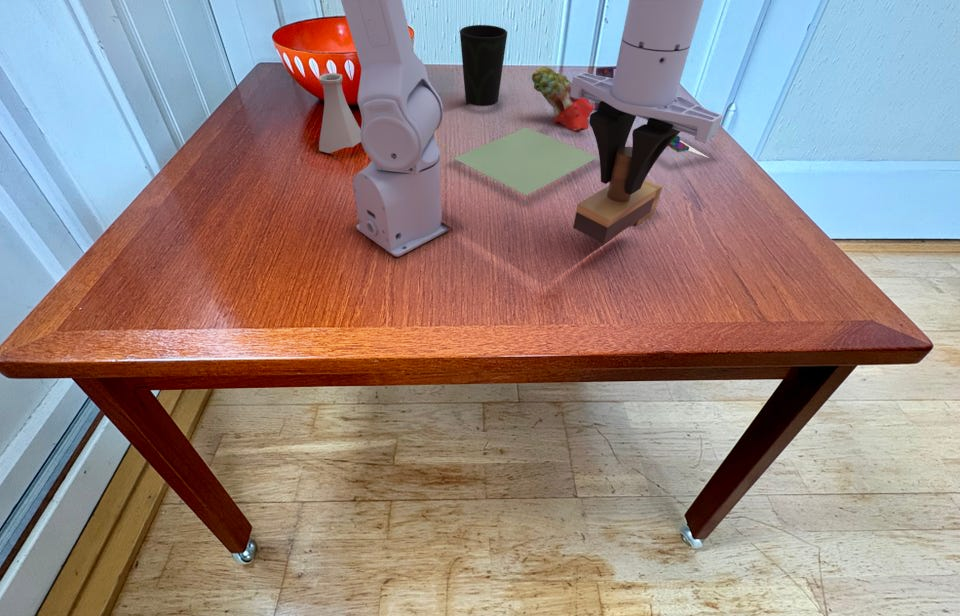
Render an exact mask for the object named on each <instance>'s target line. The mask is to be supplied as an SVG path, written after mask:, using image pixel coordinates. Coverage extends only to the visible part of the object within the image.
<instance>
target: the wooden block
mask: <svg viewBox="0 0 960 616" xmlns="http://www.w3.org/2000/svg"><path fill="white" fill-rule="evenodd" d="M643 183H644V184H646V185H649V186H651V187H653V188H656V189H657V191H656V195H655V198H654V201H653V204H652V208H651V211H650V213H649V214H647V215H646V216H644V217H643V218H641V219H640V220H638V221H637V222H635V223H634V224H633V225H634V226H636V227H637V226H639V225H641V224H642V223H643V222H646V221H647V220H648V219H649V218H651V217H652V216H653V215H655V213H656V210H657V205H658V203H659V199H660V196H661V193H662V190H663V186H662V185H660V184H658V183H655V182H653V181H651V180H648V179H646V178H645V180H644V182H643Z"/></svg>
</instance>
